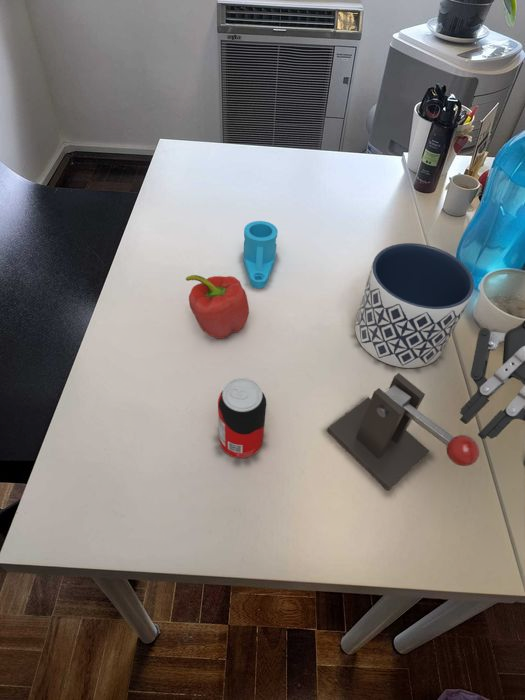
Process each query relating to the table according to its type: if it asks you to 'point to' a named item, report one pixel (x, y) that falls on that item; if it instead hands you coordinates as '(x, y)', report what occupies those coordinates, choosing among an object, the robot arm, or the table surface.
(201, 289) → the vegetable
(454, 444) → the tap lever
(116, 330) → the table surface
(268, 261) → the bracket
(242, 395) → the beverage can
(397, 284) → the planter
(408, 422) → the grey lever stand
